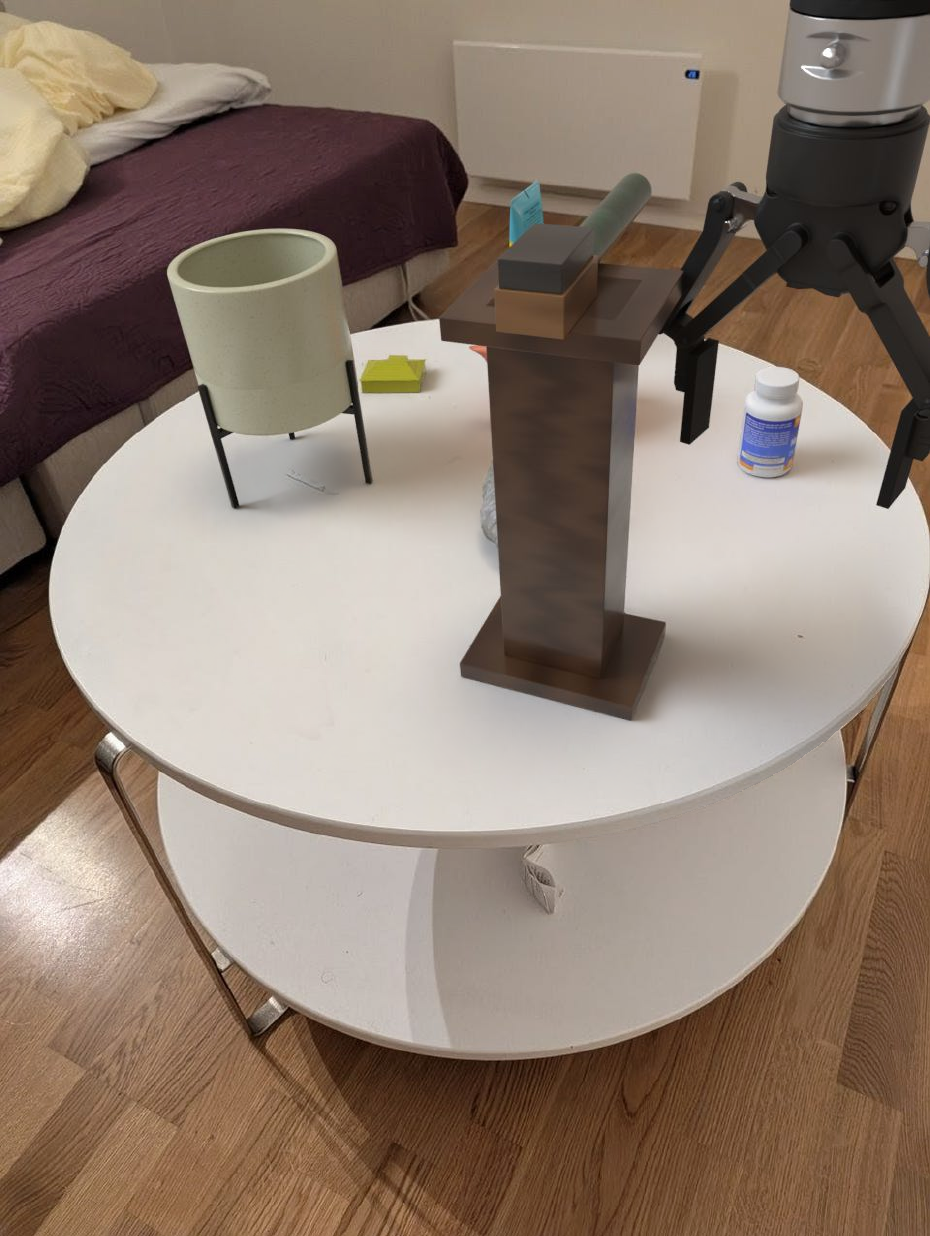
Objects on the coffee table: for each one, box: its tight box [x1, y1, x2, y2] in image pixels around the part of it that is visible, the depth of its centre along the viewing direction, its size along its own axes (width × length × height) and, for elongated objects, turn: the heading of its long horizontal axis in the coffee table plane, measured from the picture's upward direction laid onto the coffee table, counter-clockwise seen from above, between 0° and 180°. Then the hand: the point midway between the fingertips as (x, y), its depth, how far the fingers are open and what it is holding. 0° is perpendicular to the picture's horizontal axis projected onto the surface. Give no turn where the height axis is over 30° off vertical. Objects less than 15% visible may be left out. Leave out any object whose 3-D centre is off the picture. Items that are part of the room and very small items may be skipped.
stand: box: [438, 259, 685, 721], centre depth 65 cm, size 14×10×30 cm
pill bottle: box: [737, 366, 804, 478], centre depth 90 cm, size 5×5×10 cm
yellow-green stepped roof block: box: [359, 354, 438, 399], centre depth 112 cm, size 10×9×3 cm
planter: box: [166, 228, 374, 509], centre depth 90 cm, size 15×16×23 cm
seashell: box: [480, 460, 498, 549], centre depth 86 cm, size 6×14×8 cm, turn 177°
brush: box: [494, 172, 653, 339], centre depth 56 cm, size 21×4×4 cm, turn 157°
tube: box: [508, 180, 545, 248], centre depth 110 cm, size 7×5×19 cm, turn 158°
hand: (786, 464), depth 61 cm, fingers open, 13 cm apart
